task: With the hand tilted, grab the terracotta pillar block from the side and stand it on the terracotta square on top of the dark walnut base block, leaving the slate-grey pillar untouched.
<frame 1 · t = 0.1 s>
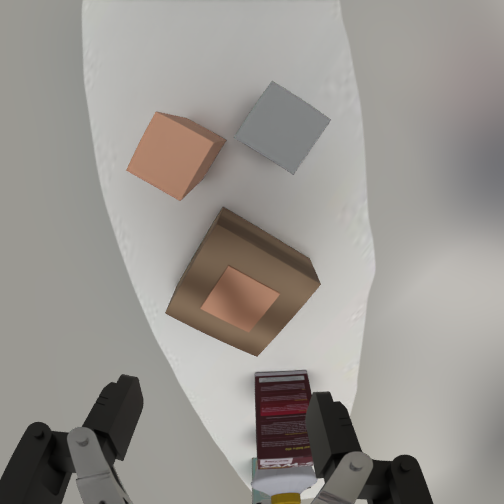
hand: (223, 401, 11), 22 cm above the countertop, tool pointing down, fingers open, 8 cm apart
device: (269, 465, 60), on the countertop
walnut base block: (241, 273, 34), on the countertop
supplement box: (280, 378, 42), on the countertop
terracotta pillar: (194, 148, 28), on the countertop
soap bottle: (280, 429, 50), on the countertop
slate-grey pillar: (272, 130, 27), on the countertop
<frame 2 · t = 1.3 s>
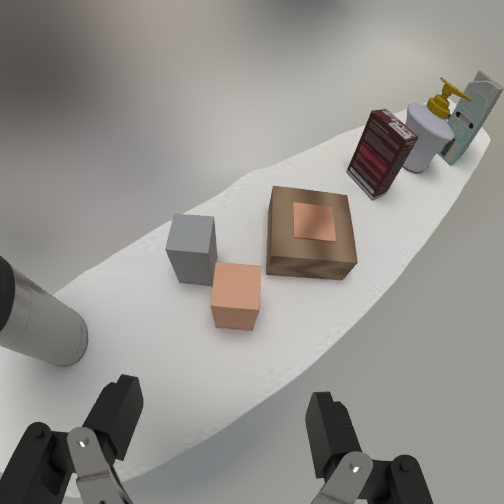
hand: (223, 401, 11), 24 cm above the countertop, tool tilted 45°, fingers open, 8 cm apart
device: (448, 151, 64), on the countertop
walnut base block: (304, 243, 44), on the countertop
supplement box: (365, 183, 52), on the countertop
terracotta pillar: (235, 311, 38), on the countertop
soap bottle: (408, 161, 58), on the countertop
slate-grey pillar: (198, 268, 40), on the countertop
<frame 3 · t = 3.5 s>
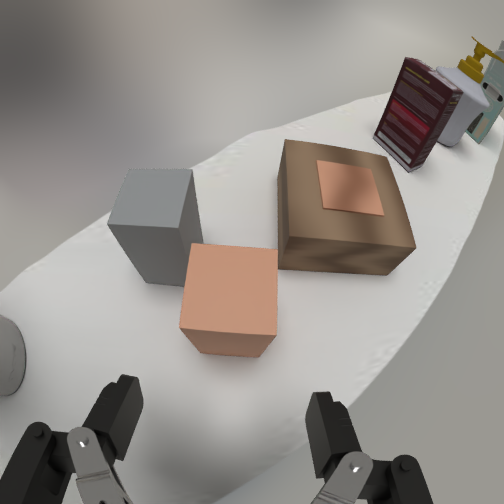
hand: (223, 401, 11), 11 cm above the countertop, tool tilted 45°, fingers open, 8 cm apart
device: (473, 129, 50), on the countertop
walnut base block: (331, 222, 30), on the countertop
supplement box: (396, 152, 38), on the countertop
terracotta pillar: (231, 327, 23), on the countertop
soap bottle: (437, 134, 44), on the countertop
slate-grey pillar: (174, 261, 26), on the countertop
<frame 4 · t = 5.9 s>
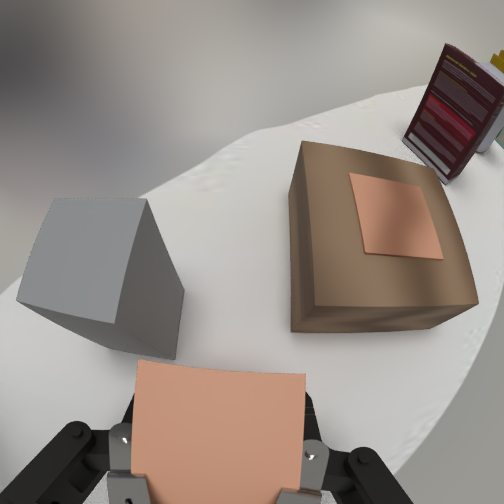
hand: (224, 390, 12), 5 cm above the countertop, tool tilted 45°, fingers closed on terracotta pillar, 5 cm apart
device: (496, 132, 42), on the countertop
walnut base block: (362, 259, 21), on the countertop
supplement box: (429, 159, 29), on the countertop
terracotta pillar: (225, 417, 15), on the countertop, touching gripper
soap bottle: (465, 138, 35), on the countertop
slate-grey pillar: (145, 319, 18), on the countertop
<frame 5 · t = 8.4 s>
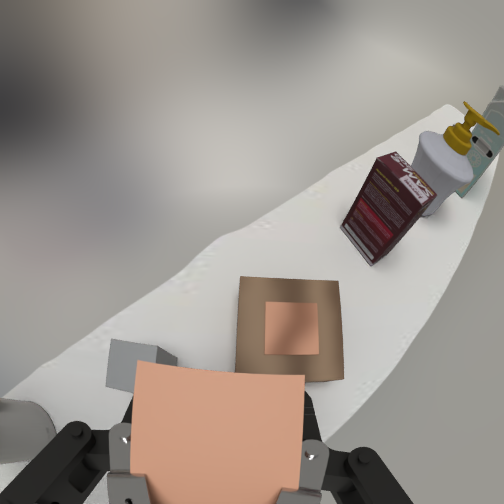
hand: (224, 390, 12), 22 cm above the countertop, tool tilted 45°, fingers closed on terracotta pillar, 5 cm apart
device: (458, 177, 56), on the countertop
walnut base block: (282, 338, 35), on the countertop
supplement box: (363, 241, 43), on the countertop
terracotta pillar: (225, 417, 15), point 18 cm above the countertop, touching gripper
soap bottle: (414, 200, 49), on the countertop
slate-grey pillar: (157, 373, 31), on the countertop
when the fingers open (12 cm above the countertop, at t = 10.9 s): terracotta pillar drops 1 cm, resting on walnut base block.
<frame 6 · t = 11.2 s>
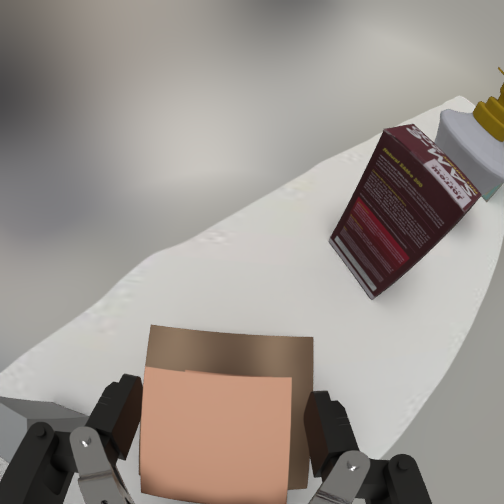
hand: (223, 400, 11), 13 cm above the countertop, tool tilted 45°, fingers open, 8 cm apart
walnut base block: (227, 409, 21), on the countertop
supplement box: (362, 261, 30), on the countertop
terracotta pillar: (224, 416, 16), point 6 cm above the countertop, touching walnut base block
soap bottle: (432, 203, 35), on the countertop
slate-grey pillar: (69, 430, 18), on the countertop
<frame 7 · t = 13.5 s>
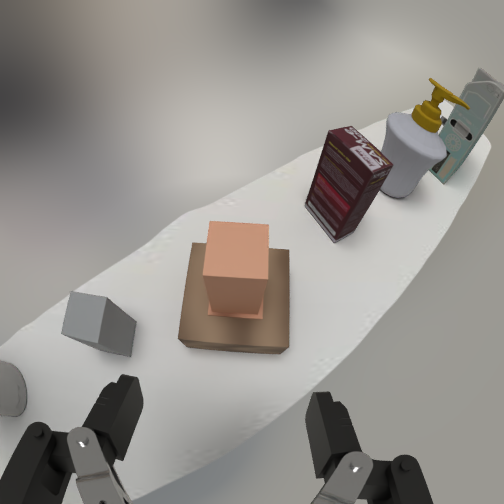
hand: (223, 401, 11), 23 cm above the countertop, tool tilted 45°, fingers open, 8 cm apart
device: (442, 165, 57), on the countertop
walnut base block: (236, 307, 36), on the countertop
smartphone: (455, 132, 69), on the countertop
supplement box: (328, 219, 45), on the countertop
terracotta pillar: (236, 292, 31), point 6 cm above the countertop, touching walnut base block
soap bottle: (389, 183, 50), on the countertop
slate-grey pillar: (117, 336, 33), on the countertop
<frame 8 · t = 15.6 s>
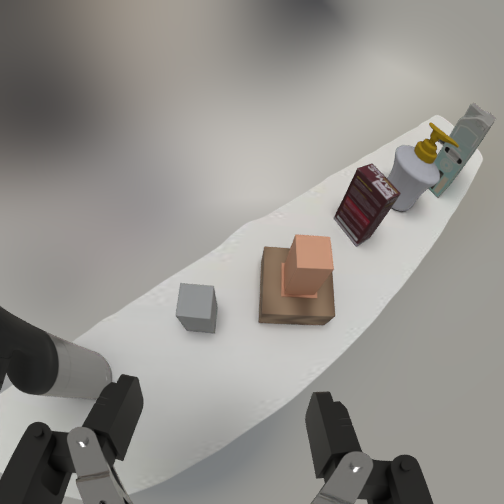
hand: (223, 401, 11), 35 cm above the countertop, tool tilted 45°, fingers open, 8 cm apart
device: (437, 181, 71), on the countertop
walnut base block: (292, 293, 51), on the countertop
supplement box: (351, 228, 59), on the countertop
terracotta pillar: (298, 280, 45), point 6 cm above the countertop, touching walnut base block
soap bottle: (394, 199, 65), on the countertop
slate-grey pillar: (202, 318, 47), on the countertop
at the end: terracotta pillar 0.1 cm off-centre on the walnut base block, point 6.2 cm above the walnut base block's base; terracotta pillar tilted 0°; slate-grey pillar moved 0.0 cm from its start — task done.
